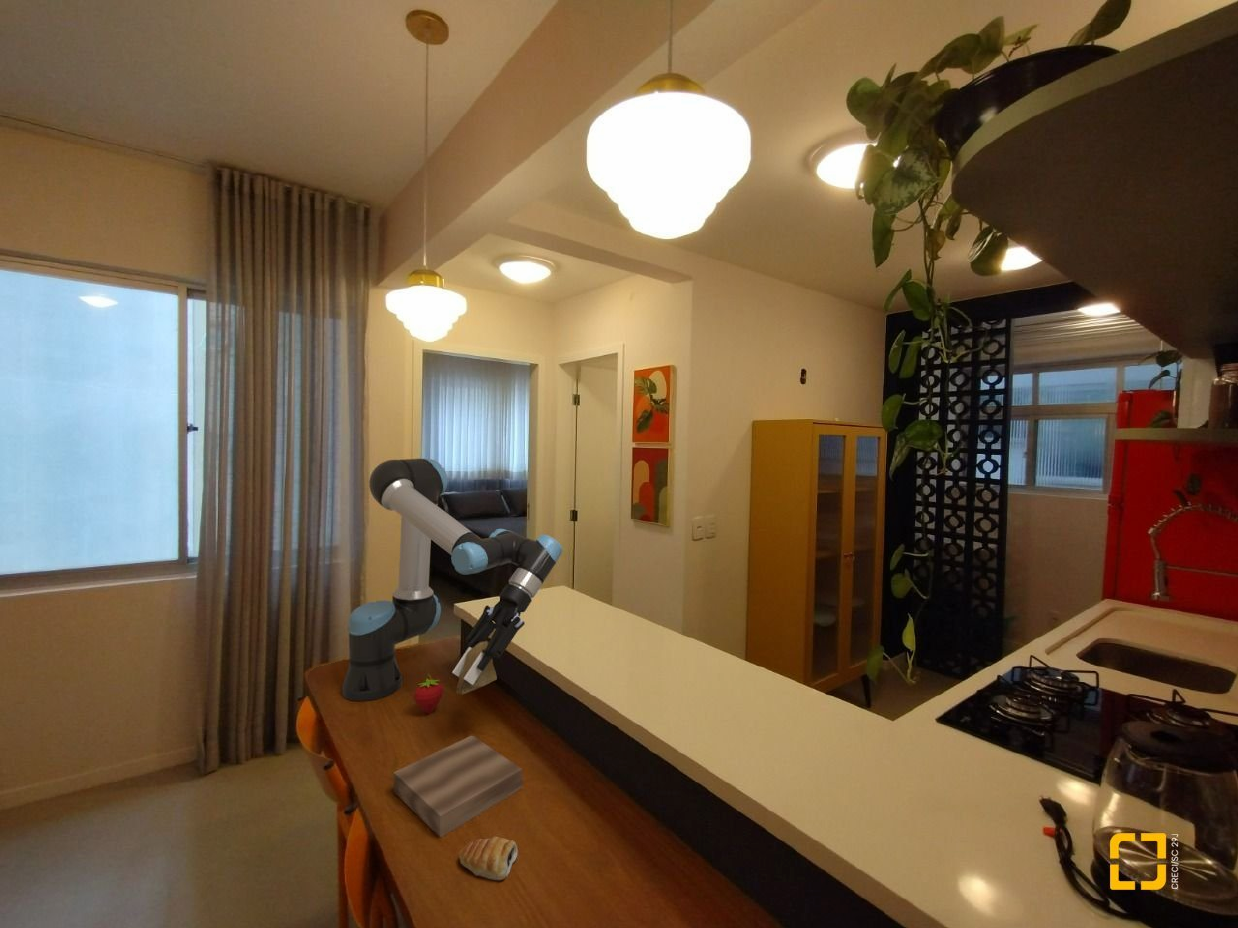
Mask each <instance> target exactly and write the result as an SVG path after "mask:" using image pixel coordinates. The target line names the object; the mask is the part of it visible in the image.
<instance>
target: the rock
mask: <svg viewBox="0 0 1238 928" xmlns="http://www.w3.org/2000/svg"><path fill="white" fill-rule="evenodd" d="M488 643H489V641H488V640H485V642H480V643H478V644H477V645H475V647H473V648H472V649H471V650H470V651H468V653H467V658H466V661H465V663H464V666H463V670H462V671H461V673H460V675H459V677H458V682H457V685H456V691H455V692H456V694H458V695H465V694H467V693H470V692H472V691H475V690H477V689H480V688H482V687H484V686H486V685H489V684H490V683H492V682H494V681H497V680H498V677H497V673H496V669H495V666H494V661H493V659H494V658H493V659H491V660H490V662H489V663H488V665H487V666H486V668H485V669H484V670H483V671H482V672H481V673H480V675H479V676H478V678H477V679H476V681H475V683H474V684H473V685H472V684H470V683H469V682H467V681H466V680H465V679H464V677H465V676H466V674H467V673H468V671H469V670H470V668H471V667H472V665H473V663H474V662H475V660H476V659H477V657H478V656H479V654H480V653H483V652H482V650H485V649H486V647H487V645H488ZM483 654H484V653H483Z"/></svg>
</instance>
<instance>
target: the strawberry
mask: <svg viewBox="0 0 1238 928" xmlns="http://www.w3.org/2000/svg"><path fill="white" fill-rule="evenodd" d="M427 675H428V676H429V678H430V679H428V678H426V680H425V682H421V683H418V687H417V688H416V689H415V690H414V694H413V699H414V702H415V703H416V705H417V706H418V707H419V708H420V709H421V710H423V711H424V712H425V713H426V714H432V713H433V711H434V709H436V707H437V706H438V705H439V703H440V701H441V699H442V698H443V694H444V691H445V690H444V686H443V684H442V683H440V681H441V680H440V679H435V680H434V679H432V677H431V675H430V674H429V673H428V674H427Z"/></svg>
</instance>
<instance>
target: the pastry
mask: <svg viewBox="0 0 1238 928" xmlns="http://www.w3.org/2000/svg"><path fill="white" fill-rule="evenodd" d="M518 852H519V851H518V846H517V843H516V842H515V840H512V839H511V840H509V839H507V838H503V837H499V836H492V837H491V838H485V839H484V838H479V839H475V840H472V841H469V842H468V843H466V844H465V846H463V848H461V850H459V852H458V858H459V862H460V864H461V865H462V866H463V867H464V868H466V869H468V870H469V871H470V872H472V873H473V875H474V876H477V877H478V876H479V877H482V878H486V879H488V880H493V881H504V880H505V878H506V877H508V875H509V874H510V872H511V869H512V865H513V864H514V862H515V861H516V859H517V858H518Z"/></svg>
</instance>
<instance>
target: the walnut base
mask: <svg viewBox="0 0 1238 928" xmlns="http://www.w3.org/2000/svg"><path fill="white" fill-rule="evenodd" d="M521 789H523V769H522V768H521V767H519V766H518V765H517V764H515V763H513V762H512V761H511V760H510V759H508V758H507V757H505V756H503V755H502V754H501V753H499V752H498V751H496V750H494V749H493V748H492V747H490V746H489V745H488V744H486V743H484V742H483V741H481V740H480V739H479V738H477V737H475V736H474V735H470V736H467V737H466V738H463V739H462V740H460V741H456V742H455V743H453V744H451V745H449V746H447V747H444V748H442V749H440V750H439V751H435V752H434V753H431V754H429V755H427V756H425V757H423V758H421V759H419V760H417V761H415V762H412V763H411V764H408V765H407V766H404V767H402V768H400V769H398V770H396V771H393V793H395V794H396V795H397V796H398V797H399V799H401V800H402V802H404V804H406V805H407V806H408V808H410V809H411V811H413V813H414V814H416V816H417V817H419V818H420V819H421V821H423V822H424V823H425V824H426V825H427V826H428V827H429V828H430V829H431V830H432V832H434V833H435V834H436V836H438V837H439V838H440V839H441V838H443V837H445V835H446V836H447V835H448V834H449V833H451V832H453V831H454V830H456V829H457V828H459V827H461V826H462V825H464V824H465V823H467V822H469V821H471V820H472V819H474V818H475V817H477V816H479V815H481V814H482V813H484V812H485V811H487V810H488V809H491V808H492V807H494V806H495V805H496V804H497V805H498V804H499V803H500V802H502V801H503V800H505V799H506V798H509V797H510V796H512V795H513V794H515V793H516V792H518V791H519V790H521Z"/></svg>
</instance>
